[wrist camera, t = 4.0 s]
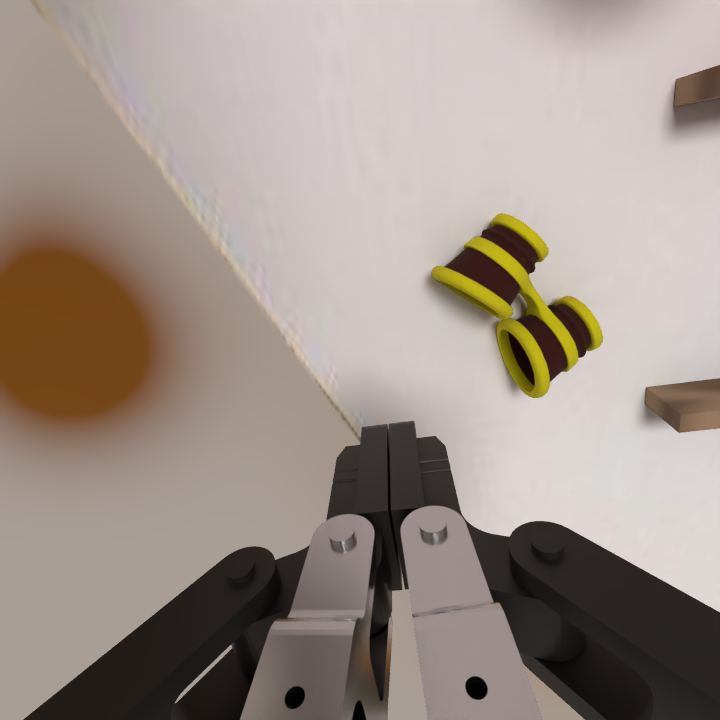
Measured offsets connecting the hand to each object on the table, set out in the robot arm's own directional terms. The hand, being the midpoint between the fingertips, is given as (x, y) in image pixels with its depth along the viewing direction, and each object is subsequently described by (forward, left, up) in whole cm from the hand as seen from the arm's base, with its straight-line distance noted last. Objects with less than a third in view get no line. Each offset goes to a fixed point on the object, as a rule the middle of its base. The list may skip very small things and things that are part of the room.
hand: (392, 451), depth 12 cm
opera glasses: (+7, -1, -16) cm, 17 cm away
